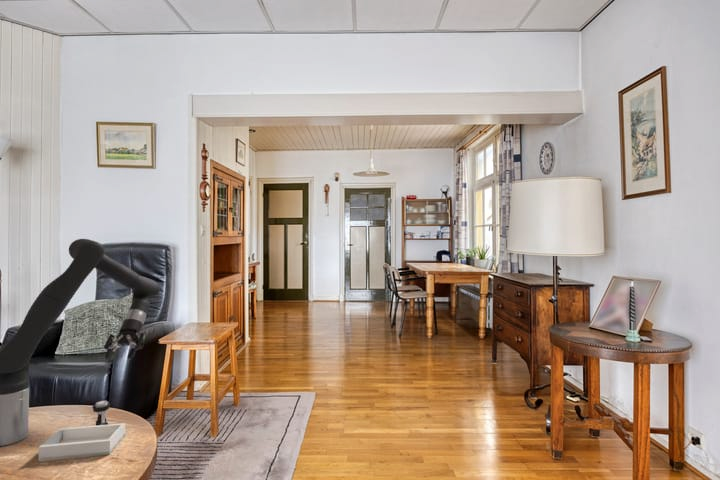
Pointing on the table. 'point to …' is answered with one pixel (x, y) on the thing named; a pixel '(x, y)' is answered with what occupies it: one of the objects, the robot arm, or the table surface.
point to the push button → (101, 412)
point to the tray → (82, 442)
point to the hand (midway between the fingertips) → (118, 359)
